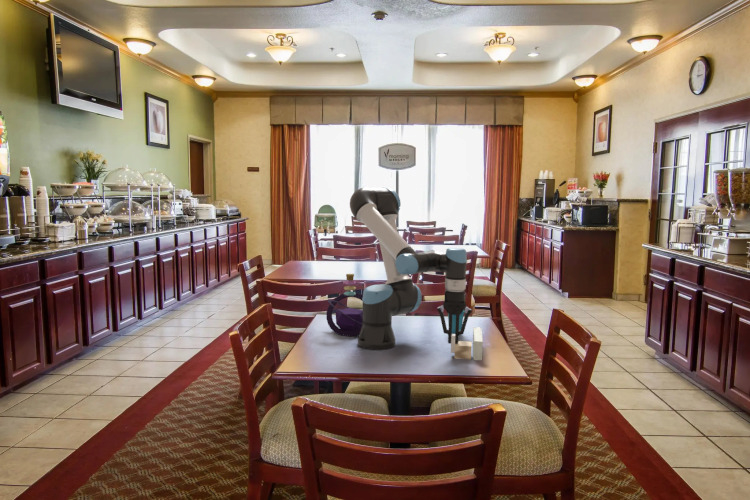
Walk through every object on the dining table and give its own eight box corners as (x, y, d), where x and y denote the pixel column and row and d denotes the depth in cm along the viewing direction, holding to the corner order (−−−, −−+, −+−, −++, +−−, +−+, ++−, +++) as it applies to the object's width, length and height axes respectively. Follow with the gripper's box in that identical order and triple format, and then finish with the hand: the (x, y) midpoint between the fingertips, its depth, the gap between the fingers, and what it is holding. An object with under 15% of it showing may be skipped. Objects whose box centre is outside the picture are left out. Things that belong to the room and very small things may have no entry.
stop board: (473, 359, 187) (474, 341, 186) (472, 343, 206) (473, 327, 205) (481, 360, 186) (482, 341, 185) (480, 344, 206) (481, 327, 205)
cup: (438, 329, 226) (439, 296, 224) (453, 328, 229) (454, 295, 227) (454, 338, 213) (455, 303, 212) (470, 336, 216) (471, 302, 214)
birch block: (454, 358, 188) (454, 345, 187) (454, 353, 194) (455, 340, 193) (470, 359, 187) (471, 346, 186) (470, 354, 193) (471, 341, 192)
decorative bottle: (316, 334, 216) (316, 275, 213) (335, 322, 236) (335, 269, 233) (365, 339, 209) (366, 279, 206) (381, 327, 229) (382, 272, 226)
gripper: (436, 290, 185) (434, 353, 188) (473, 292, 183) (470, 356, 186) (438, 287, 193) (436, 347, 195) (472, 288, 190) (470, 350, 193)
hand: (452, 351), depth 191 cm, fingers closed
